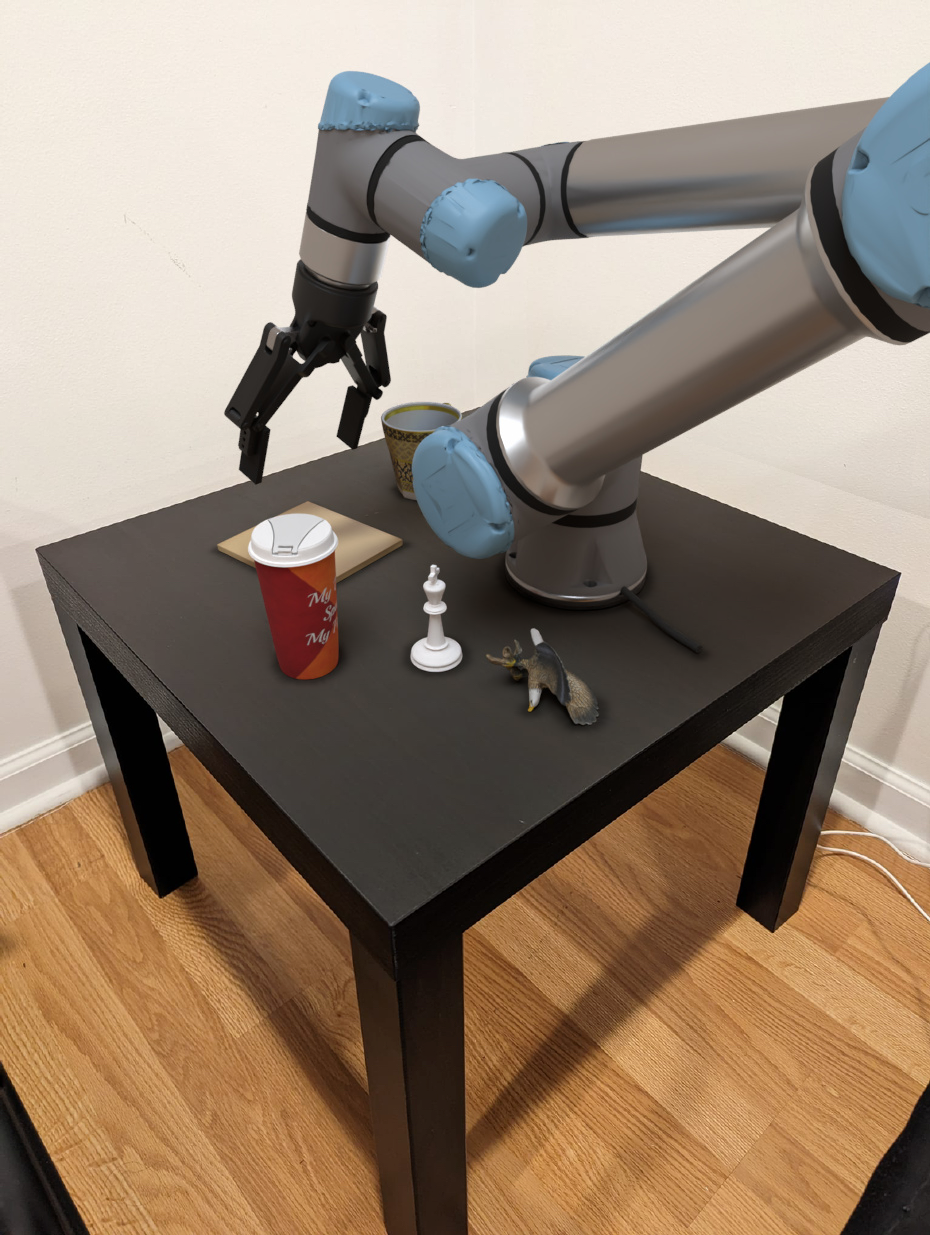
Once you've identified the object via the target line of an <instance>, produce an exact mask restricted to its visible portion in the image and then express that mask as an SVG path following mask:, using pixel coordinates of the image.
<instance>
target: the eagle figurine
mask: <svg viewBox="0 0 930 1235" xmlns="http://www.w3.org/2000/svg"><path fill="white" fill-rule="evenodd" d="M530 637H531V640H532V644H533V655H532V656H522V652H523V648H522V647H521V645H520V642H519V641H518V640H516V639H513V644H514V645H515V649H514V651H513V652H512V649H511V647H510V646H505V647H503V649H502V658H499V657H495V656H493V655H491V654H489V653H487V654H485V658H486V659H487V660H488V662H489V663H491V664H493V665H496V666H501V667H503V668H506V670H507V671H509V672H510V674H511V675H510V676H511V677H512V678H513V679H514V681H516V682H519V681H520V680H521V679H522V678H525V677H527V688H528V702H529V704H528V705H529V706H528V708H527V712H529V713H531V712H532V711H534V708H536V707H537V706H539V705H538V704H539V703H540V698H541V694H542V692H543V689H549V690H550V692H551V693H552V694H553V695H555V696H556V697H557V700H558V701H559V703H560V704H561V705H562V706H564V707H566V709H567V712H568V714H569V717H570V718H571V720H572V722H573V724H575V725H578V724H579V725H581V726H585V725H588V726H591V725H593V723H596V722H597V717H599V715H600V713H599V711H598V710H599V709H600V708H599V706H598V705H599V701H598V700H597V697H596V696H595V693H594V692H593V691H592V688H591V687H590V686H589V685H588V684H587V683H586V682H585V680H583V679H582V678H581V677H580V676H579V675H578V674H576V673H574V671H571V670H570V669H568V668H567V667H565V665H564V663H563V661H562V659H561V657H560V655H559V654H558V652H557V651H556V650H555V649H554V648H553V647H552V646H551V645H550V644H549V643H548V642H546V641H544V639H543V637H542V635H541V634H540V631H539V630H538V629H536V628H535V627H534V628H531V629H530ZM520 668H522V669H520Z"/></svg>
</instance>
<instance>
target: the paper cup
mask: <svg viewBox="0 0 930 1235" xmlns="http://www.w3.org/2000/svg"><path fill="white" fill-rule="evenodd" d="M279 515H280V514H279ZM276 516H277V517H276ZM276 516H274V517H270V518H268V519H265V520H263V521H261V522H259V523H258V524H257V525H255V526H256V527H255V526H254V527H255V529H254V530H253V532H252V535H251V541H250V543H249V546H248V552H249V555H250V556H251V557H252V558H253V559H254V562H255V566H256V568H255V570H256V575H257V579H258V584H259V588H260V592H261V595H262V596H261V597H262V601H263V604H264V609H265V613H266V617H267V622H268V626H269V630H270V635H271V638H272V642H273V643H272V644H273V647H274V651H275V655H276V659H277V662H278V666H279V668H280V671H281V672H282V673H283V674H284V675H286V676H287V677H289V678H292V679H296V680H313V679H318V678H321V677H324V676H326V675H328V674H330V673H331V672H332V671H333V670H334V669H336V667H337V666H338V663H339V658H340V656H339V655H340V653H339V650H340V649H339V647H340V646H339V618H338V590H337V583H336V565H335V549H336V547H337V545H338V538H337V536H336V534H335V533H334V532H333V531H332V528H331V526H330V524H329V523H328V522H327V521H326V520H324V519H322V518H320V517H317V516H315V515H310V514H286V515H280V516H278V515H276Z"/></svg>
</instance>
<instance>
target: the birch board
mask: <svg viewBox="0 0 930 1235" xmlns="http://www.w3.org/2000/svg"><path fill="white" fill-rule="evenodd" d="M286 514H310V515H315V516H317V517H320V518H322V519H324V520H326V521H327V522H328V523H329V524H330V526H331V528H332V531H333V532H334V533H335V534H336V536H337V538H338V545H337V547H336V549H335V565H336V584H338V583H340V582H341V581H343V580H345V579H346V578H348V577H351V576H352V575H354V574H356V573H357V572H359V571H361V570H362V569H364V568H366V567H368V566H369V565H371V564H373V563H374V562H376V561H377V560H380V559H381V558H383V557H385V556H386V555H388V554H390V553H392V552H394V551H395V550H397V549H399V548H401V546H403V541H404V540H403V539H402V538H400V537H398V536H396V535H393V534H390V533H388V532H385V531H383V530H380V529H378V528H375V527H372V526H371V525H368V524H365V523H363V522H362V521H361V522H360V521H358V520H355V519H353V518H351V517H349V516H346V515H344V514H341V513H339V512H336V511H333V510H331V509H328V508H327V507H324V506H321V505H318V504H316V503H313V502H311V501H308V500H306V501H305V502H303V503H300V504H298V505H296V506H294V507H292V508H290V509H288V510H286V511H284V512H282V513H280V514H278V515H276V516H275V517H277V516H280V515H286ZM256 526H257V525H254V526H253V527H251V528H249V529H246V530H244V531H241V532H240V533H238V534H236V535H234V536H231V537H230V538H227V539H226V540H224V541H222V542H219V543H217V544H216V546H217V551H219V552H221V553H223V554H225V555H227V556H229V557H231V558H233V559H235V560H237V561H240V562H242V563H243V564H246V565H248V566H249V567H252V568H253V569H256V566H255V562H254V559H253V558H252V557H251V556H250V555H249V552H248V546H249V543H250V541H251V535H252V532H253V530H254V529H255V527H256Z"/></svg>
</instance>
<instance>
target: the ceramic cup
mask: <svg viewBox="0 0 930 1235" xmlns="http://www.w3.org/2000/svg"><path fill="white" fill-rule="evenodd" d="M461 419H463V414H462V412H461V411H460V410H459V409H458V408H456V407H454V406H453V405H452V404H451V403H450V402H443V403H441V402H436V401H435V402H434V401H414V402H406V403H400V404H397V405H393V406H391V407H389V408H388V409H386V410H385V411H384V412H383V413H382V414H381V416H380V422H381V427H382V432H383V436H384V439H385V443H386V446H387V449H388V452H389V457H390V461H391V465H392V469H393V473H394V478H395V482H396V486H397V489H398V490H399V492H400V494H401V495H402V496H403V498H405V499H407V500H414V501H417V499H416V496H415V493H414V488H413V480H414V479H413V474H412V462H413V457H414V454H415V451H416V449H417V447H418V445H419V444H420V443H421V441H422V440H423V439H424V438H426V437H427V436H429V435H430V434H432V433H433V432H434V431H435V430H436V429H437V428H439V427H441V426H449V425H452V424H454V423H456V422H458V421H460V420H461Z"/></svg>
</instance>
